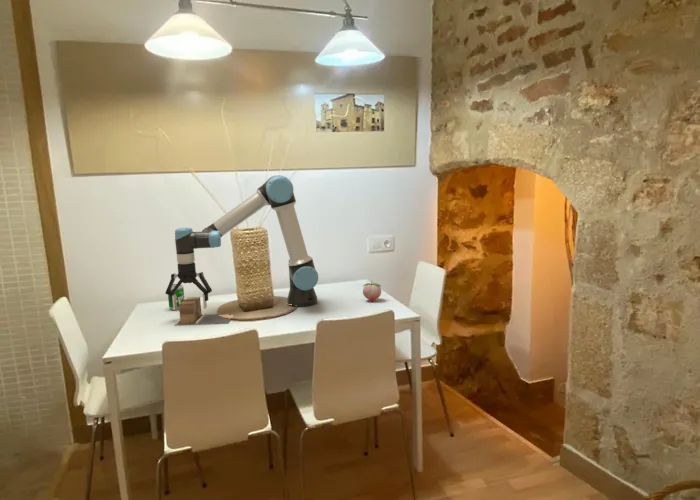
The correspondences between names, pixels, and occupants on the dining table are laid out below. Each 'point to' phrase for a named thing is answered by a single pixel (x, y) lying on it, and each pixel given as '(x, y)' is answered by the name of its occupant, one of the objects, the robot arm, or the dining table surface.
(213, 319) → the mat
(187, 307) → the walnut block
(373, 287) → the decorative fruit
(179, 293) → the soda can
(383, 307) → the dining table surface
